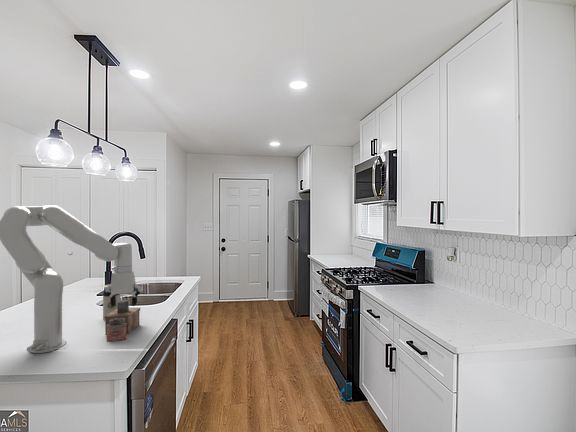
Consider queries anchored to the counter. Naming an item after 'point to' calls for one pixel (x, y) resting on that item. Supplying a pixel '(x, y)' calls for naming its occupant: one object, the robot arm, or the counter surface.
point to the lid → (122, 311)
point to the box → (131, 323)
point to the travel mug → (109, 302)
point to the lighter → (116, 330)
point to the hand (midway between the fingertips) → (123, 305)
